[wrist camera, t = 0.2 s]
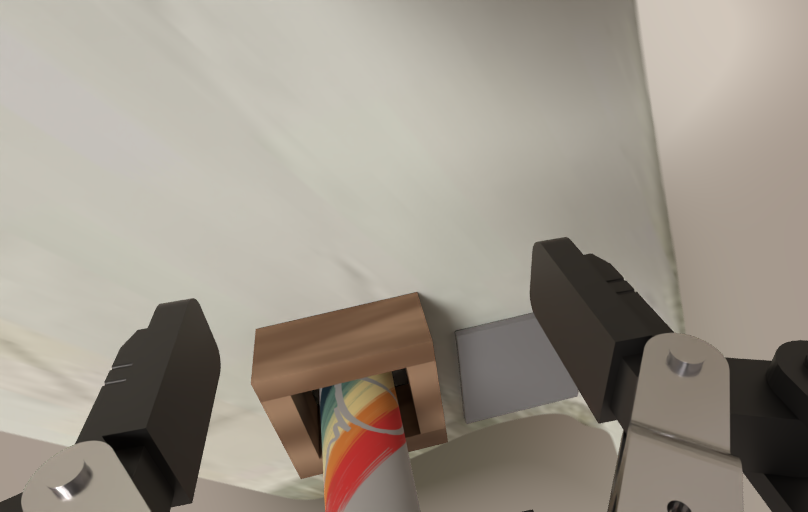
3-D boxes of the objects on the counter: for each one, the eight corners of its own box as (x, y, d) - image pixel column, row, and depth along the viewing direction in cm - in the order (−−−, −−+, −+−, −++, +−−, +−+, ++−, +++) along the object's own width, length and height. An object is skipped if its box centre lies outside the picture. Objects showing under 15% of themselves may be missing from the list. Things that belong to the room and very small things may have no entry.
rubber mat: (455, 331, 39) (457, 336, 38) (585, 300, 40) (588, 305, 39) (464, 418, 46) (466, 423, 46) (574, 391, 47) (577, 396, 46)
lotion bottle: (368, 327, 37) (424, 647, 21) (400, 368, 40) (468, 670, 24) (304, 358, 38) (310, 691, 22) (340, 396, 41) (369, 708, 25)
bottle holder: (255, 329, 35) (250, 383, 31) (417, 292, 36) (432, 340, 32) (300, 424, 42) (301, 479, 38) (433, 392, 43) (447, 442, 39)
